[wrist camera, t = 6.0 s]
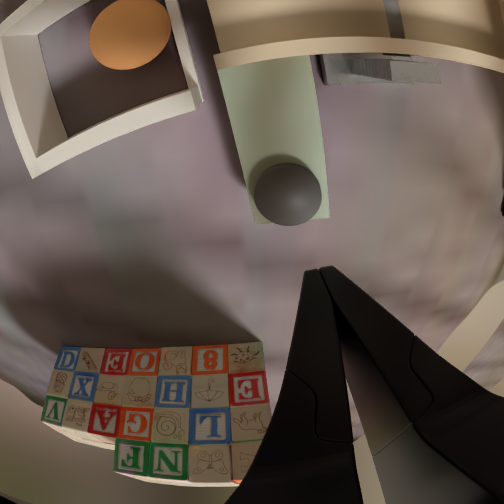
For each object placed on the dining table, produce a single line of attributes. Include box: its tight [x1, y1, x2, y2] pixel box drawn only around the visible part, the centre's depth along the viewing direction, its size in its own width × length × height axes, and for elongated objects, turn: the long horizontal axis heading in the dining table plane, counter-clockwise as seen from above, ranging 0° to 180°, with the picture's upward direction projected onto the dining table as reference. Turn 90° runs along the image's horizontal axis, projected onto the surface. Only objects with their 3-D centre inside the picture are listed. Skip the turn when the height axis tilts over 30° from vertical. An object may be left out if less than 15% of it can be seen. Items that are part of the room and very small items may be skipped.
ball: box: [89, 0, 171, 70], centre depth 8 cm, size 4×4×4 cm
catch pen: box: [0, 0, 205, 179], centre depth 8 cm, size 8×9×3 cm
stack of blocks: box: [41, 342, 272, 487], centre depth 20 cm, size 21×6×12 cm, turn 95°
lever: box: [207, 0, 504, 226], centre depth 8 cm, size 14×14×3 cm
